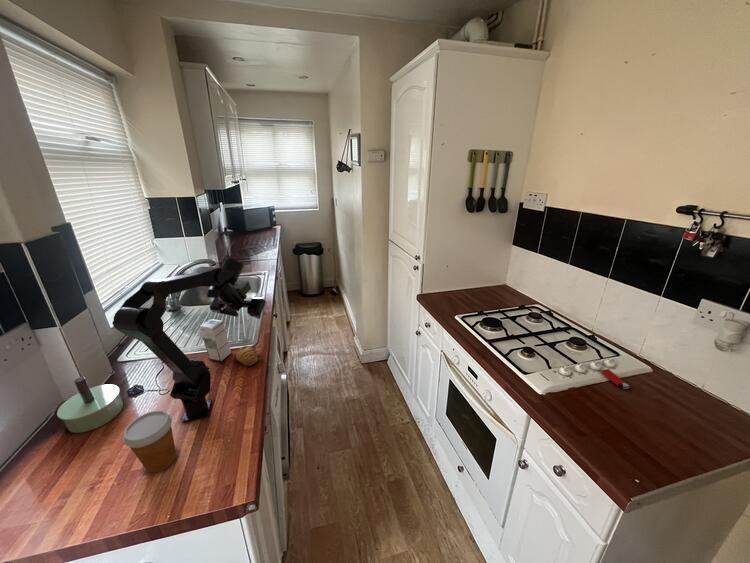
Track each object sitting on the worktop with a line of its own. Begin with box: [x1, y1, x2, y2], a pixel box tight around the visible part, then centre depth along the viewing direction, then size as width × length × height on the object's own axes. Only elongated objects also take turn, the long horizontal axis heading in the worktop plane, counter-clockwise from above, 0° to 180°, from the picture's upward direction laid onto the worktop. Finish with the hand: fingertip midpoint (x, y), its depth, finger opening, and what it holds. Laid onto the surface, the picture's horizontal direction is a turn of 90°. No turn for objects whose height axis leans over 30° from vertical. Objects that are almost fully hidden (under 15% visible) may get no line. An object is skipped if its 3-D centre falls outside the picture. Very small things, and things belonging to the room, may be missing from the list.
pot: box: [62, 393, 124, 434], centre depth 89 cm, size 13×13×5 cm
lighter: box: [600, 368, 630, 390], centre depth 98 cm, size 3×1×8 cm
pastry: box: [235, 345, 259, 366], centre depth 112 cm, size 9×7×4 cm
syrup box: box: [199, 318, 232, 362], centre depth 113 cm, size 6×6×14 cm
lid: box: [56, 376, 121, 421], centre depth 87 cm, size 14×14×9 cm
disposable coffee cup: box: [122, 410, 177, 474], centre depth 73 cm, size 10×10×12 cm
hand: (248, 316), depth 113 cm, fingers open, 9 cm apart
